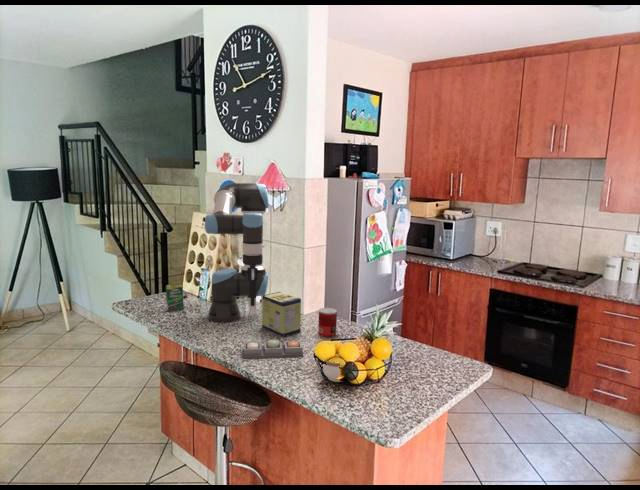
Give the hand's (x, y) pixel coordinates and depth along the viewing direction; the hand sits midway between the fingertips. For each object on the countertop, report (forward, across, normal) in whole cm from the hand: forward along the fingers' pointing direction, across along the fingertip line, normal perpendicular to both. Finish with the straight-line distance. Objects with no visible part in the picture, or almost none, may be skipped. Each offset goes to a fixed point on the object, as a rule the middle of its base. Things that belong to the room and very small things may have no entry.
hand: (252, 312), depth 176 cm
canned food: (+17, +17, -33) cm, 41 cm away
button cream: (+15, -1, 0) cm, 15 cm away
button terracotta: (+15, -1, -16) cm, 22 cm away
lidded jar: (+17, -25, -29) cm, 42 cm away
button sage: (+14, -1, -8) cm, 16 cm away
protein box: (+17, +24, -13) cm, 32 cm away
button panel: (+16, -1, -8) cm, 18 cm away
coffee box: (+17, +56, +38) cm, 70 cm away
